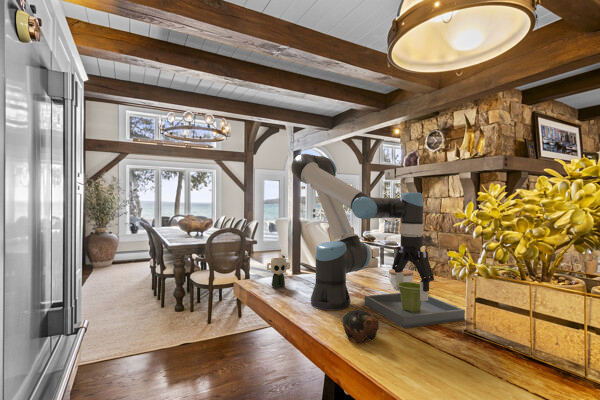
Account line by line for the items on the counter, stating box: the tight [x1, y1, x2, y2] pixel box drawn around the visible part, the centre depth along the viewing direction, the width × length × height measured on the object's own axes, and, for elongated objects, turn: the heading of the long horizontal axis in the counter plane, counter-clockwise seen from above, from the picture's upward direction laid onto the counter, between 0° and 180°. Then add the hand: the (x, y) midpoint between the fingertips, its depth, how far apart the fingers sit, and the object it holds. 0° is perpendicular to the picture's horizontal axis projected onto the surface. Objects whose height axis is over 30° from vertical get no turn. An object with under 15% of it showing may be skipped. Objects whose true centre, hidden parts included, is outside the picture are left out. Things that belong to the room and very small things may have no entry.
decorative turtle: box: [341, 309, 380, 345], centre depth 93 cm, size 10×15×8 cm, turn 32°
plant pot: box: [398, 281, 421, 312], centre depth 115 cm, size 9×9×9 cm
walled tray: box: [364, 292, 466, 329], centre depth 115 cm, size 24×24×4 cm
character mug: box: [266, 257, 291, 288], centre depth 148 cm, size 11×7×13 cm, turn 106°
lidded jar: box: [388, 268, 414, 289], centre depth 149 cm, size 11×11×9 cm
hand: (411, 295), depth 115 cm, fingers open, 13 cm apart
